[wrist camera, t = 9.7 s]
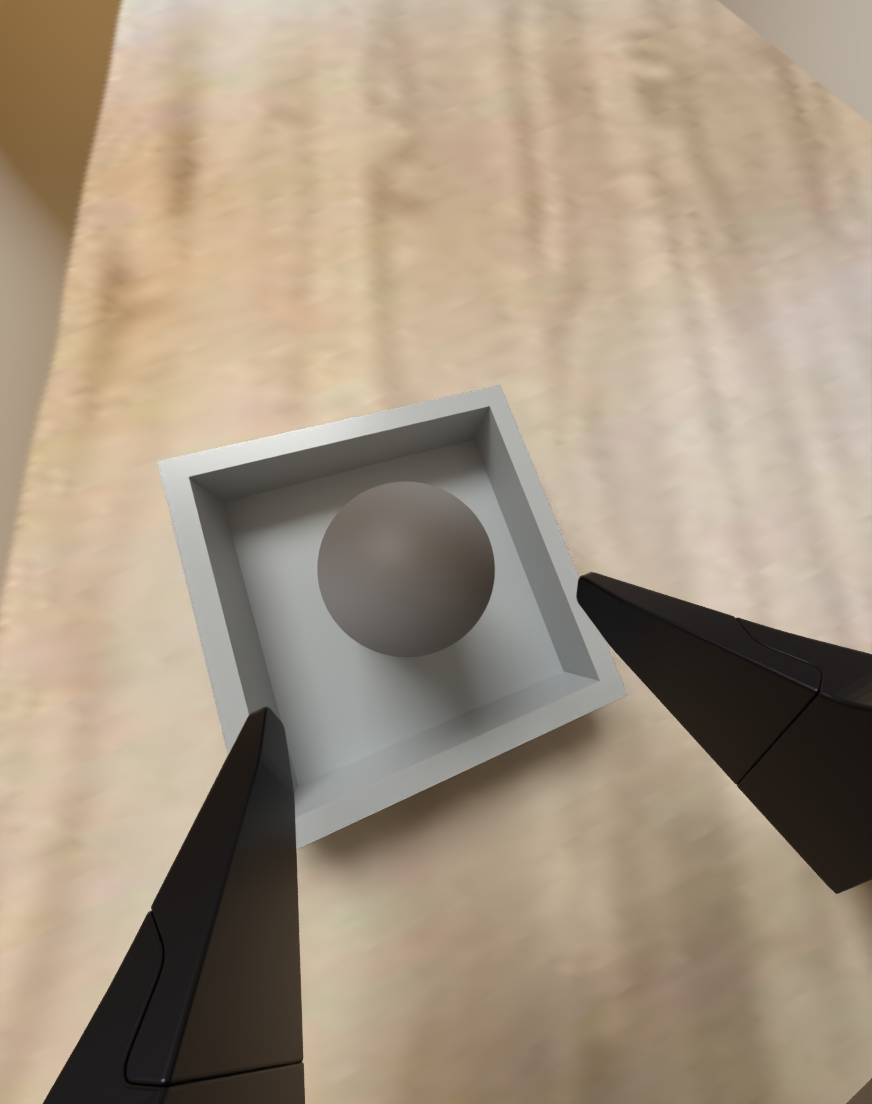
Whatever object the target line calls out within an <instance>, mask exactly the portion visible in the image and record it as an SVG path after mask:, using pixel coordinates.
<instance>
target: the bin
mask: <svg viewBox="0 0 872 1104" xmlns="http://www.w3.org/2000/svg"><path fill="white" fill-rule="evenodd" d="M157 462H158V466H159V471H160V475H161V479H162V483H163V487H164V491H165V496H166V500H167V504H168V508H169V512H170V516H171V520H172V525H173V529H174V533H175V537H176V541H177V545H178V549H179V554H180V558H181V562H182V566H183V570H184V574H185V578H186V583H187V587H188V591H189V595H190V599H191V603H192V607H193V612H194V616H195V620H196V624H197V628H198V632H199V636H200V641H201V645H202V649H203V653H204V657H205V661H206V665H207V670H208V674H209V678H210V682H211V686H212V690H213V694H214V699H215V703H216V707H217V711H218V715H219V719H220V723H221V728H222V732H223V736H224V740H225V744H226V748H227V752H228V754H229V752H230V750H231V748H232V746H233V745H234V743H235V741H236V739H237V737H238V735H239V733H240V731H241V729H242V727H243V725H244V723H245V721H246V719H247V717H248V716H249V714H250V713H251V712H253V711H256V710H258V709H260V708H263V707H266V706H267V707H270V708H271V709H272V711H273V712H274V713H275V714H276V716H277V717H278V718H279V719H280V720H281V722H282V723H283V725H284V728H285V733H286V740H287V747H288V753H289V760H290V767H291V774H292V780H293V788H294V798H295V823H296V850H297V849H299V848H301V847H303V846H306V845H308V844H310V843H312V842H314V841H316V840H318V839H321V838H323V837H325V836H327V835H329V834H331V833H333V832H335V831H338V830H340V829H342V828H344V827H346V826H348V825H350V824H353V823H355V822H357V821H359V820H361V819H363V818H365V817H368V816H370V815H372V814H374V813H376V812H378V811H380V810H383V809H385V808H387V807H389V806H391V805H393V804H395V803H397V802H400V801H402V800H404V799H406V798H408V797H410V796H412V795H415V794H417V793H419V792H421V791H423V790H425V789H427V788H430V787H432V786H434V785H436V784H438V783H440V782H442V781H445V780H447V779H449V778H451V777H453V776H455V775H457V774H459V773H462V772H464V771H466V770H468V769H470V768H472V767H474V766H477V765H479V764H481V763H483V762H485V761H487V760H489V759H492V758H494V757H496V756H498V755H500V754H502V753H504V752H506V751H509V750H511V749H513V748H515V747H517V746H519V745H521V744H524V743H526V742H528V741H530V740H532V739H534V738H536V737H539V736H541V735H543V734H545V733H547V732H549V731H551V730H554V729H556V728H558V727H560V726H562V725H564V724H566V723H568V722H571V721H573V720H575V719H577V718H579V717H581V716H583V715H586V714H588V713H590V712H592V711H594V710H596V709H598V708H601V707H603V706H605V705H607V704H609V703H611V702H613V701H616V700H618V699H620V698H622V697H624V696H626V695H627V692H626V690H625V687H624V685H623V682H622V680H621V678H620V675H619V673H618V670H617V668H616V665H615V663H614V661H613V658H612V656H611V653H610V651H609V648H608V646H607V643H606V641H605V639H604V637H603V636H602V635H601V633H600V632H599V631H598V629H597V628H596V627H595V625H594V624H593V623H592V621H591V620H590V619H589V617H588V616H587V614H586V613H585V612H584V610H583V609H582V608H581V606H580V605H579V603H578V602H577V598H576V593H577V584H578V579H579V575H578V573H577V570H576V568H575V565H574V563H573V561H572V558H571V556H570V553H569V551H568V548H567V546H566V543H565V541H564V539H563V536H562V534H561V531H560V529H559V526H558V524H557V521H556V519H555V517H554V514H553V512H552V509H551V507H550V504H549V502H548V500H547V497H546V495H545V492H544V490H543V487H542V485H541V482H540V480H539V478H538V475H537V473H536V470H535V468H534V465H533V463H532V461H531V458H530V456H529V453H528V451H527V448H526V446H525V443H524V441H523V439H522V436H521V434H520V431H519V429H518V426H517V424H516V422H515V419H514V417H513V414H512V412H511V409H510V407H509V404H508V402H507V400H506V397H505V395H504V392H503V390H502V387H501V385H497V386H493V387H488V388H484V389H479V390H475V391H470V392H466V393H461V394H457V395H452V396H448V397H443V398H439V399H434V400H430V401H425V402H421V403H416V404H412V405H407V406H403V407H398V408H394V409H389V410H385V411H380V412H376V413H371V414H367V415H362V416H358V417H353V418H349V419H345V420H340V421H336V422H331V423H327V424H322V425H318V426H313V427H309V428H304V429H300V430H295V431H291V432H286V433H282V434H277V435H273V436H268V437H264V438H259V439H255V440H250V441H246V442H241V443H237V444H232V445H228V446H223V447H219V448H214V449H210V450H205V451H201V452H196V453H192V454H187V455H183V456H178V457H174V458H169V459H165V460H160V461H157ZM393 482H418V483H424V484H428V485H432V486H435V487H437V488H440V489H443V490H445V491H446V492H448V493H450V494H452V495H454V496H455V497H457V498H458V499H459V500H461V501H462V502H463V503H464V504H465V505H467V506H468V507H469V508H470V509H471V510H472V512H473V513H474V514H475V515H476V516H477V518H478V519H479V521H480V522H481V524H482V525H483V527H484V529H485V531H486V533H487V535H488V537H489V540H490V543H491V546H492V550H493V554H494V562H495V579H494V585H493V591H492V594H491V597H490V600H489V603H488V605H487V607H486V609H485V611H484V613H483V615H482V616H481V618H480V619H479V621H478V622H477V623H476V625H475V626H474V627H473V628H472V629H471V630H470V631H469V632H468V633H467V634H466V635H465V636H464V637H463V638H461V639H460V640H459V641H457V642H456V643H454V644H453V645H451V646H449V647H447V648H445V649H443V650H441V651H438V652H435V653H433V654H429V655H424V656H418V657H395V656H390V655H384V654H381V653H378V652H375V651H372V650H370V649H368V648H366V647H364V646H362V645H360V644H359V643H358V642H356V641H355V640H353V639H352V638H350V637H349V636H348V635H347V634H346V633H345V632H344V631H343V630H342V629H341V628H340V627H339V626H338V625H337V623H336V622H335V621H334V620H333V618H332V616H331V615H330V613H329V612H328V610H327V608H326V606H325V603H324V601H323V599H322V595H321V592H320V588H319V583H318V576H317V562H318V555H319V549H320V546H321V542H322V539H323V537H324V534H325V532H326V530H327V528H328V526H329V525H330V523H331V521H332V520H333V518H334V517H335V516H336V514H337V513H338V512H339V511H340V510H341V509H342V508H343V507H344V506H345V505H346V504H347V503H348V502H349V501H351V500H352V499H353V498H355V497H356V496H357V495H359V494H361V493H363V492H365V491H366V490H368V489H371V488H374V487H376V486H379V485H383V484H387V483H393Z"/></svg>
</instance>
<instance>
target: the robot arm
mask: <svg viewBox="0 0 872 1104" xmlns="http://www.w3.org/2000/svg"><path fill="white" fill-rule="evenodd" d="M576 598H577V602H578V603H579V605H580V606H581V608H582V609H583V610H584V612H585V613H586V614H587V616H588V617H589V619H590V620H591V621H592V623H593V624H594V625H595V627H596V628H597V629H598V631H599V632H600V633H601V635H602V636H603V637H604V639H605V640H606V641H607V643H608V644H609V645H610V646H611V647H612V649H613V650H614V651H615V652H616V653H617V654H618V655H619V656H620V657H621V659H622V660H623V661H624V662H625V663H626V664H627V665H628V666H629V667H630V668H631V670H632V671H633V672H634V673H635V674H636V675H637V676H638V677H639V678H640V679H641V681H642V682H643V683H644V684H645V685H646V686H647V687H648V688H649V689H650V690H651V692H652V693H653V694H654V695H655V696H656V697H657V698H658V699H659V700H660V702H661V703H662V704H663V705H664V706H665V707H666V708H667V709H668V710H669V711H670V713H671V714H672V715H673V716H674V717H675V718H676V719H677V720H678V721H679V722H680V724H681V725H682V726H683V727H684V728H685V729H686V730H687V731H688V732H689V733H690V735H691V736H692V737H693V738H694V739H695V740H696V741H697V742H698V743H699V744H700V746H701V747H702V748H703V749H704V750H705V751H706V752H707V753H708V754H709V755H710V757H711V758H712V759H713V760H714V761H715V762H716V763H717V764H718V765H719V766H720V768H721V769H722V770H723V771H724V772H725V773H726V774H727V775H728V776H729V778H730V779H731V780H732V781H733V782H734V783H735V784H737V787H738V788H739V789H740V790H741V791H742V792H743V793H744V794H745V795H746V797H747V798H748V799H749V800H750V801H751V802H752V803H753V804H754V805H755V806H756V808H757V809H758V810H759V811H760V812H761V813H762V814H763V815H764V816H765V817H766V819H767V820H768V821H769V822H770V823H771V824H772V825H773V826H774V827H775V828H776V830H777V831H778V832H779V833H780V834H781V835H782V836H783V837H784V838H785V839H786V841H787V842H788V843H789V844H790V845H791V846H792V847H793V848H794V849H795V850H796V852H797V853H798V854H799V855H800V856H801V857H802V858H803V859H804V860H805V861H806V863H807V864H808V865H809V866H810V867H811V868H812V869H813V870H814V871H815V872H816V874H817V875H818V876H819V877H820V878H821V879H822V880H823V881H824V882H825V883H826V884H827V885H828V886H829V887H830V888H831V889H832V890H833V891H834V892H835V893H836V894H838V893H841V892H843V891H846V890H848V889H850V888H853V887H855V886H858V885H860V884H862V883H865V882H867V881H870V880H872V654H869V653H865V652H861V651H857V650H853V649H849V648H845V647H841V646H837V645H834V644H830V643H826V642H822V641H818V640H814V639H810V638H806V637H803V636H799V635H795V634H792V633H788V632H784V631H781V630H777V629H774V628H770V627H767V626H764V625H760V624H757V623H754V622H751V621H747V620H744V619H741V618H735V617H734V616H731V615H728V614H725V613H722V612H718V611H715V610H712V609H709V608H706V607H703V606H699V605H696V604H693V603H690V602H687V601H683V600H680V599H677V598H674V597H671V596H668V595H664V594H661V593H658V592H655V591H652V590H648V589H645V588H642V587H639V586H636V585H632V584H629V583H626V582H623V581H620V580H617V579H613V578H610V577H607V576H604V575H601V574H597V573H594V572H590V573H587V574H585V575H582V576H580V577H579V579H578V584H577V593H576ZM151 910H152V911H149V912H148V913H147V915H146V917H145V919H144V921H143V923H142V925H141V927H140V929H139V931H138V933H137V935H136V937H135V939H134V941H133V943H132V945H131V947H130V948H129V950H128V952H127V954H126V956H125V958H124V960H123V962H122V964H121V966H120V967H119V969H118V971H117V973H116V975H115V977H114V979H113V981H112V983H111V984H110V986H109V988H108V990H107V992H106V994H105V995H104V997H103V999H102V1001H101V1002H100V1004H99V1006H98V1008H97V1010H96V1011H95V1013H94V1015H93V1017H92V1018H91V1020H90V1022H89V1024H88V1026H87V1027H86V1029H85V1031H84V1033H83V1034H82V1036H81V1038H80V1040H79V1042H78V1043H77V1045H76V1047H75V1049H74V1050H73V1052H72V1054H71V1055H70V1057H69V1059H68V1061H67V1062H66V1064H65V1066H64V1068H63V1069H62V1071H61V1073H60V1074H59V1076H58V1078H57V1080H56V1081H55V1083H54V1085H53V1087H52V1088H51V1090H50V1092H49V1093H48V1095H47V1097H46V1099H45V1100H44V1102H43V1104H305V1088H304V1064H303V1062H302V1061H303V1034H302V1004H301V974H300V944H299V913H298V883H297V853H296V823H295V798H294V788H293V780H292V774H291V767H290V760H289V753H288V747H287V740H286V733H285V728H284V725H283V723H282V722H281V720H280V719H279V718H278V717H277V716H276V714H275V713H274V712H273V711H272V709H271V708H270V707H267V706H266V707H263V708H260V709H258V710H256V711H253V712H251V713H250V714H249V716H248V717H247V719H246V721H245V723H244V725H243V727H242V729H241V731H240V733H239V735H238V737H237V739H236V741H235V743H234V745H233V746H232V748H231V750H230V752H229V754H228V756H227V758H226V760H225V762H224V764H223V766H222V768H221V770H220V772H219V774H218V776H217V778H216V780H215V782H214V784H213V786H212V788H211V790H210V792H209V794H208V796H207V798H206V800H205V802H204V804H203V806H202V807H201V809H200V811H199V813H198V815H197V817H196V819H195V821H194V823H193V825H192V827H191V829H190V831H189V833H188V835H187V837H186V839H185V841H184V843H183V845H182V847H181V849H180V851H179V853H178V855H177V857H176V859H175V861H174V863H173V865H172V866H171V868H170V870H169V872H168V874H167V876H166V878H165V880H164V882H163V884H162V886H161V888H160V890H159V892H158V894H157V896H156V898H155V900H154V902H153V904H152V906H151ZM846 1104H872V1079H871V1080H870V1081H869V1082H868V1083H867V1084H866V1085H865V1086H864V1087H863V1088H862V1089H861V1090H860V1091H859V1092H858V1093H857V1094H856V1095H855V1096H853V1097H852V1098H851V1099H850V1100H849V1101H848V1102H847V1103H846Z"/></svg>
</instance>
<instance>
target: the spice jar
mask: <svg viewBox="0 0 872 1104" xmlns="http://www.w3.org/2000/svg"><path fill="white" fill-rule="evenodd" d="M317 576H318V583H319V588H320V592H321V595H322V599H323V601H324V603H325V606H326V608H327V610H328V612H329V613H330V615H331V616H332V618H333V620H334V621H335V622H336V623H337V625H338V626H339V627H340V628H341V629H342V630H343V631H344V632H345V633H346V634H347V635H348V636H349V637H350V638H352V639H353V640H355V641H356V642H358V643H359V644H360V645H362V646H364V647H366V648H368V649H370V650H372V651H375V652H378V653H381V654H384V655H390V656H395V657H418V656H424V655H429V654H433V653H435V652H438V651H441V650H443V649H445V648H447V647H449V646H451V645H453V644H454V643H456V642H457V641H459V640H460V639H461V638H463V637H464V636H465V635H466V634H467V633H468V632H469V631H470V630H471V629H472V628H473V627H474V626H475V625H476V623H477V622H478V621H479V619H480V618H481V616H482V615H483V613H484V611H485V609H486V607H487V605H488V603H489V600H490V597H491V594H492V591H493V585H494V579H495V562H494V554H493V550H492V546H491V543H490V540H489V537H488V535H487V533H486V531H485V529H484V527H483V525H482V524H481V522H480V521H479V519H478V518H477V516H476V515H475V514H474V513H473V512H472V510H471V509H470V508H469V507H468V506H467V505H465V504H464V503H463V502H462V501H461V500H459V499H458V498H457V497H455V496H454V495H452V494H450V493H448V492H446V491H445V490H443V489H440V488H437V487H435V486H432V485H428V484H424V483H418V482H393V483H387V484H383V485H379V486H376V487H374V488H371V489H368V490H366V491H365V492H363V493H361V494H359V495H357V496H356V497H355V498H353V499H352V500H351V501H349V502H348V503H347V504H346V505H345V506H344V507H343V508H342V509H341V510H340V511H339V512H338V513H337V514H336V516H335V517H334V518H333V520H332V521H331V523H330V525H329V526H328V528H327V530H326V532H325V534H324V537H323V539H322V542H321V546H320V549H319V555H318V562H317Z"/></svg>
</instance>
